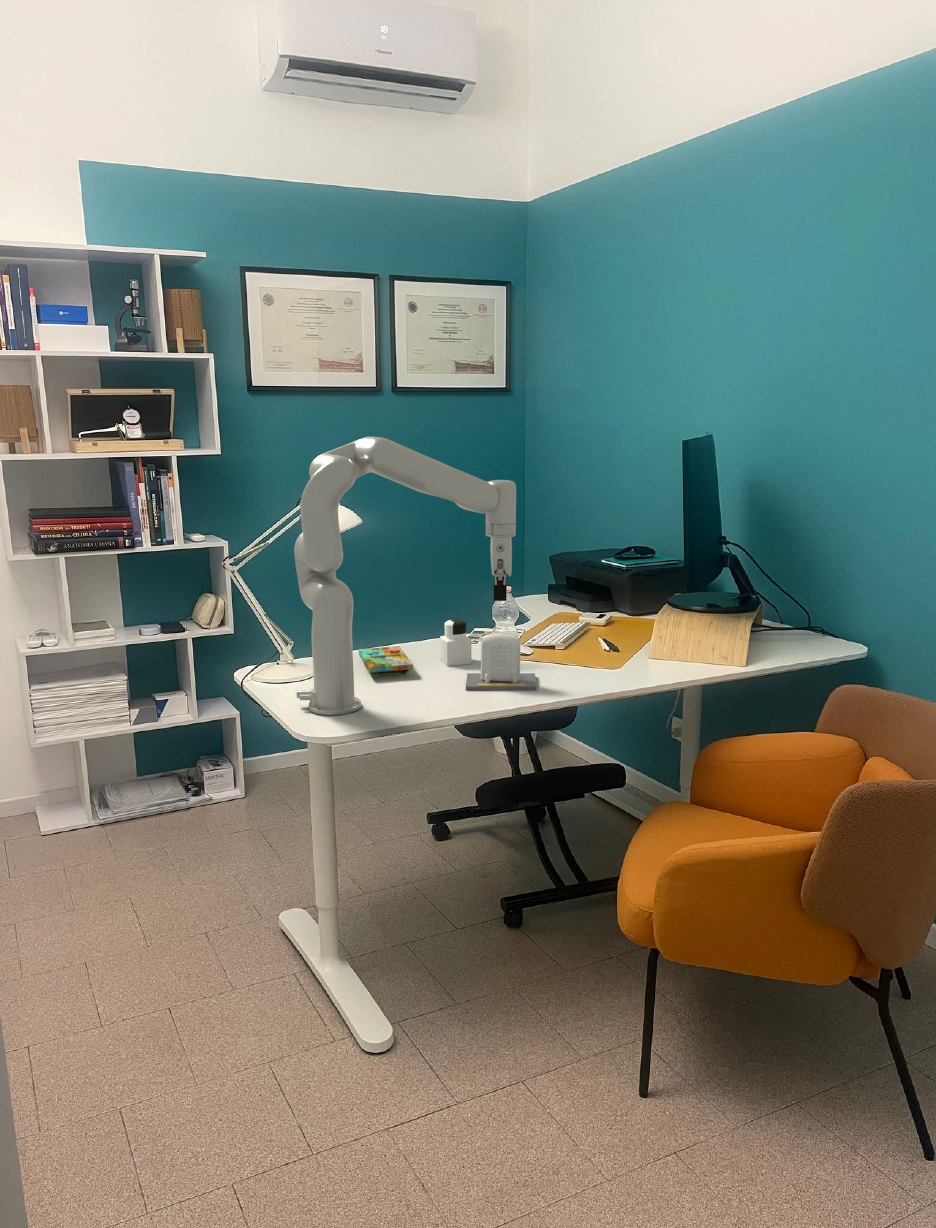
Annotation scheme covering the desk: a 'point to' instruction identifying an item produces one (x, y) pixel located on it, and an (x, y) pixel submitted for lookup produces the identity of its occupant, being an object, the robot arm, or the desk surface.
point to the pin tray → (501, 682)
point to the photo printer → (500, 657)
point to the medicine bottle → (455, 644)
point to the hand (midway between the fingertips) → (500, 596)
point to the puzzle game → (385, 661)
